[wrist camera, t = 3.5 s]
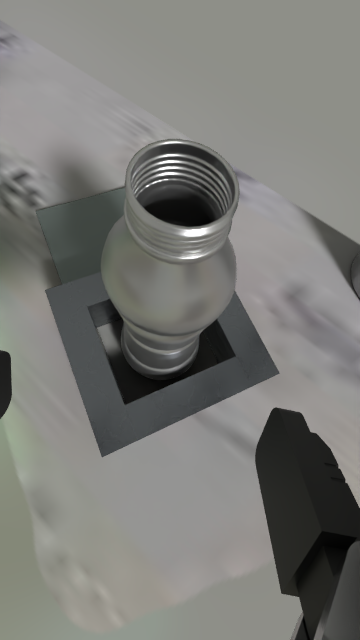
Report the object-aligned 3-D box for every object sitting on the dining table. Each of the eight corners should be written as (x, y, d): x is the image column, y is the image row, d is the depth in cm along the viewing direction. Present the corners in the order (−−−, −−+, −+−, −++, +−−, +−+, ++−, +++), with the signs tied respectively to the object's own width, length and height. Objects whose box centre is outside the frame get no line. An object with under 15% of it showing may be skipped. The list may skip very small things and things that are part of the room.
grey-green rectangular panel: (163, 183, 35) (164, 176, 34) (197, 247, 32) (199, 242, 31) (38, 217, 32) (35, 211, 31) (65, 291, 29) (63, 287, 28)
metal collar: (196, 266, 32) (205, 237, 27) (257, 383, 28) (279, 373, 23) (61, 313, 28) (44, 290, 24) (110, 452, 25) (101, 457, 20)
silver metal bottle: (151, 400, 27) (165, 323, 8) (108, 339, 28) (33, 151, 9) (208, 357, 28) (328, 212, 10) (165, 302, 30) (197, 83, 11)
